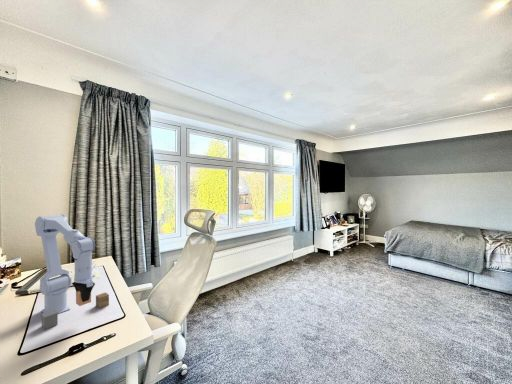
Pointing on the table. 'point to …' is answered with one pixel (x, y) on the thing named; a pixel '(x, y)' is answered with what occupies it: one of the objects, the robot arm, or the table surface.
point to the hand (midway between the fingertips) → (83, 299)
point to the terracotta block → (79, 300)
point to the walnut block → (102, 300)
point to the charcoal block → (49, 319)
